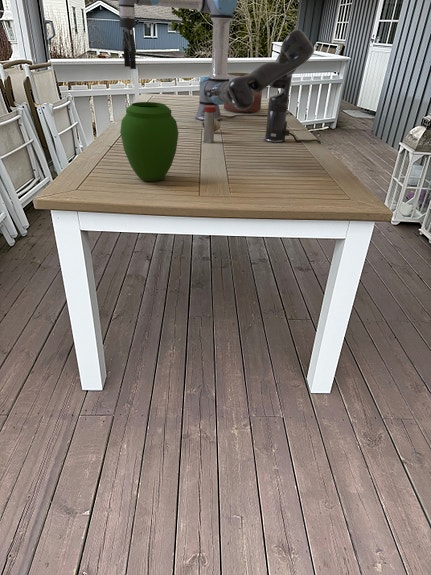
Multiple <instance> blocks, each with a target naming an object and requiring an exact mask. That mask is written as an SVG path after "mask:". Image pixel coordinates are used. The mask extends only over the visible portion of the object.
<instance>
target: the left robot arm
mask: <svg viewBox="0 0 431 575" xmlns="http://www.w3.org/2000/svg"><path fill="white" fill-rule="evenodd" d="M117 3H118V9H117V12H118V16H119V20H118V21H119V28H123V29H122V48H121V49H122V51H123V63H124V68H126V67H127V68H128V67H129V69H130V70H137V62H136V59H137V58H136V53H137V46H136V41H135V30H134V29H135V28H137V27H136V26H137V25H136V19H135V18H136V8H135V7H136V6H139V7H142V6H148V7H159V8H160V7H161V8H174V9H190V10H196V11H197V12H200V13H206V14H209V15H210V20H211V21H212V45H211V46H212V50H211V74H210V75H209V76H202V77H200V78H199V94H198V95H199V99H198V101H199V103H198V104H199V105H198V107H197V111H196V114H195V119H196V120H199V121H202V122H204V114H205V111H204V106H207V105H209V106H216V111H215V118H216V119H217V121H221V120H222V118H236V117H267V115H268V114H249V113H242V114H234V115H223V114H221V110H220V107H219V106H222V105H223V106H224V104H225V102H222V101H221V100H220V99H219V98H218V97H213V96H212V97H205V90H209V89H213V88H218V86H219V85H220V84H221V83H222V82H225V81H229V77H228V76H227V73H228V59H229V40H230V25H231V22H232V21H233V20H234V12H235V11H236V9H237V7H238V0H117ZM135 5H136V6H135ZM216 90H217V89H216ZM212 92H213V91H212ZM287 115H290V116H293V113H292V112H290V111H289V112H288V111H287V114H286V116H287Z"/></svg>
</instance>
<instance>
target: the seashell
mask: <svg viewBox="0 0 431 575" xmlns="http://www.w3.org/2000/svg"><path fill="white" fill-rule="evenodd" d="M219 121H220V120H218V121H217V119H216V118H215V121H214V133H215V132H218V131H219V130H220V129H221V124H220V122H219ZM202 127H203V129H204V121H202Z"/></svg>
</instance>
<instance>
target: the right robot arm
mask: <svg viewBox="0 0 431 575" xmlns="http://www.w3.org/2000/svg"><path fill="white" fill-rule="evenodd" d="M279 51H280V52H279V54H278V55H277V57H276V59H275V61H268V62H265V63H262V64H261V65H259V66H258V67H257V68H255V69H254V70H252V71H251V72H248V73H249V74H247V75H244V76H241V77H237V78H234V79H233V80H231V81H225V82H222V83H221V84H220V85H219V86H218V88H213V89H209V90H205V97H212V96H213V97H218V98H219V99H220V100H221V101H222V102H225V103H232V104H233V105H234V107H235V108H237V109H239V110H245V109H248V108H250V107H251V106H252V104H253V103H254V95H253V93H252V91H254V92H256V93H258V92H261V91H262V92H263V90H265V89H267V87H270V88H272V89H282V90H281V91H280V92H279V93H277V94H273V95H271V96H270V97H269V99H268V107H267V114H266V115H267V116H266V125H265V126H266V127H265V134H264V141H266V142H268V143H269V142H270V143H283V142H285V141H286V137H289V136H292V138H293V139H294V141H295V142H297V143H300V142H305V143H310V142H311V143H312V142H317V143H319V144H322V141H320V140H319V139H314V138H313V139H297V138H296V135H295V134H293V133H292V132H290V130H289V129H287V126H288V121H287V115H288V114H287V113H288V106H289V98H290V91H291V85H292V79H293V74H295V72H296V71H297V69H298V68H300V67H301V66H303V65H304V64H305V63H307V62H308V61H309V60H310V58H311V57H312V56H313V55H314V53H315V48H314V46H313V44H312V42H311V41H310V40H309V38H308V36H307V35H306V33H305V32H303V30H301V29H294V30H293V31H291V32H289V33H288V34H287V36H286V37H284V40H283V42H282V43H281V46H280V50H279ZM216 89H217V90H216ZM251 90H252V91H251ZM212 91H213V92H212ZM286 114H287V115H286Z"/></svg>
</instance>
